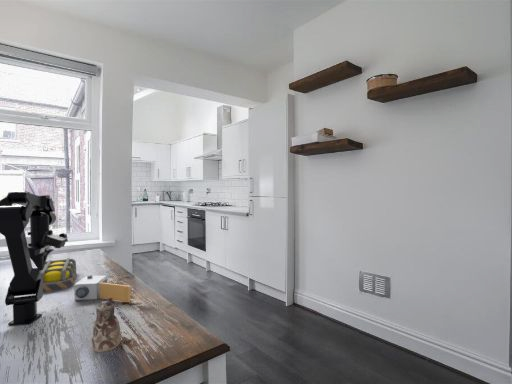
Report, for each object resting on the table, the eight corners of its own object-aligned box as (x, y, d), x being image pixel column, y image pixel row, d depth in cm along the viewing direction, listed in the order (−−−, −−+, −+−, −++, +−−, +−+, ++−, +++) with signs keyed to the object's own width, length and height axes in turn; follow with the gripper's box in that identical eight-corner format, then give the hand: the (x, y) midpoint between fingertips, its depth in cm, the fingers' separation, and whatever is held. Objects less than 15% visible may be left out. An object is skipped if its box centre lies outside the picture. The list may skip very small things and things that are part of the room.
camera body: (94, 300, 112) (94, 282, 112) (72, 301, 111) (71, 283, 111) (107, 289, 124) (107, 273, 124) (87, 290, 123) (86, 274, 123)
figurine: (85, 350, 78) (84, 305, 78) (103, 336, 85) (102, 295, 85) (109, 352, 77) (108, 306, 76) (126, 338, 84) (125, 296, 83)
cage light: (76, 255, 153) (72, 270, 126) (77, 271, 153) (72, 288, 127) (42, 259, 146) (29, 275, 119) (42, 275, 146) (30, 295, 120)
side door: (96, 298, 114) (95, 283, 113) (98, 297, 115) (98, 282, 115) (128, 303, 109) (127, 287, 108) (130, 302, 110) (130, 285, 110)
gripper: (48, 231, 103) (49, 276, 103) (75, 224, 121) (76, 262, 121) (13, 232, 101) (14, 278, 102) (45, 225, 120) (46, 263, 120)
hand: (41, 270), depth 111 cm, fingers closed
